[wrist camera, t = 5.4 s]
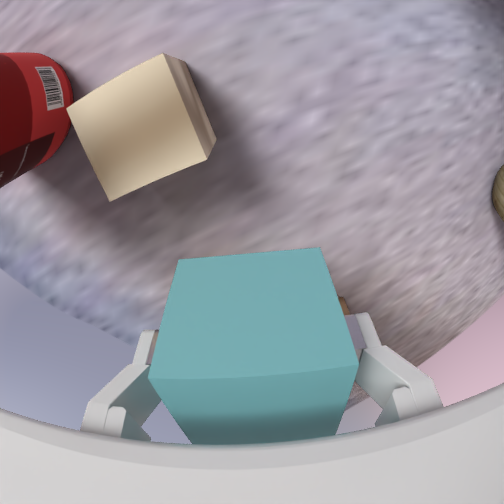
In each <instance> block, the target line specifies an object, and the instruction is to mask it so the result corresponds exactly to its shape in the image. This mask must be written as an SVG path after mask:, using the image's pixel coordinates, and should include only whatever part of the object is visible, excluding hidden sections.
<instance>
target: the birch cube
mask: <svg viewBox="0 0 504 504" xmlns="http://www.w3.org/2000/svg"><path fill="white" fill-rule="evenodd" d="M66 109H67V112H68V114H69V117H70V119H71V121H72V124H73V126H74V128H75V130H76V133H77V135H78V137H79V139H80V142H81V144H82V146H83V148H84V150H85V153H86V155H87V157H88V159H89V161H90V163H91V165H92V167H93V169H94V171H95V173H96V175H97V177H98V179H99V181H100V183H101V185H102V187H103V189H104V191H105V193H106V195H107V197H108V199H109V201H112V200H115V199H117V198H119V197H121V196H123V195H125V194H127V193H129V192H132V191H134V190H136V189H138V188H140V187H143V186H145V185H147V184H149V183H152V182H154V181H156V180H158V179H161V178H163V177H165V176H168V175H170V174H173V173H175V172H177V171H180V170H182V169H185V168H187V167H190V166H192V165H195V164H197V163H200V162H202V161H205V160H207V159H208V157H209V155H210V153H211V151H212V149H213V146H214V144H215V142H216V140H217V139H216V136H215V134H214V131H213V129H212V127H211V124H210V122H209V119H208V117H207V114H206V112H205V109H204V107H203V104H202V102H201V99H200V97H199V95H198V92H197V90H196V87H195V85H194V82H193V80H192V77H191V75H190V73H189V70H188V68H187V65H186V63H185V61H182V60H180V59H177V58H174V57H172V56H169V55H167V54H164V53H162V54H160V55H158V56H156V57H153V58H151V59H149V60H147V61H145V62H143V63H141V64H139V65H137V66H136V67H134V68H132V69H130V70H128V71H126V72H124V73H122V74H121V75H119V76H117V77H115V78H114V79H112V80H110V81H108V82H107V83H105V84H103V85H102V86H100V87H98V88H97V89H95V90H93V91H92V92H90V93H89V94H87V95H86V96H84V97H83V98H81V99H79V100H78V101H76V102H75V103H73V104H72V105H71V106H69V107H68V108H66Z"/></svg>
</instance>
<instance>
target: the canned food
mask: <svg viewBox="0 0 504 504" xmlns="http://www.w3.org/2000/svg"><path fill="white" fill-rule="evenodd" d="M73 103H74V101H73V91H72V88H71V84H70V81H69V79H68V77H67V75H66V73H65V71H64V70H63V69H62V67H61V66H60V65H59V64H57V63H56V62H55V61H54V60H52V59H51V58H49V57H47V56H45V55H43V54H39V53H0V188H1V187H3V186H4V185H6V184H8V183H9V182H11V181H12V180H14V179H16V178H17V177H19V176H21V175H22V174H24V173H26V172H28V171H29V170H31V169H33V168H35V167H36V166H38V165H40V164H42V163H44V162H45V161H46V160H48V159H49V158H50V157H51V156H52V155H53V154H54V153H55V152H56V150H57V149H58V148H59V147H60V145H61V144H62V143H63V141H64V139H65V137H66V136H67V134H68V131H69V128H70V126H71V119H70V117H69V114H68V112H67V109H66V108H68V107H69V106H71V105H72V104H73Z"/></svg>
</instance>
